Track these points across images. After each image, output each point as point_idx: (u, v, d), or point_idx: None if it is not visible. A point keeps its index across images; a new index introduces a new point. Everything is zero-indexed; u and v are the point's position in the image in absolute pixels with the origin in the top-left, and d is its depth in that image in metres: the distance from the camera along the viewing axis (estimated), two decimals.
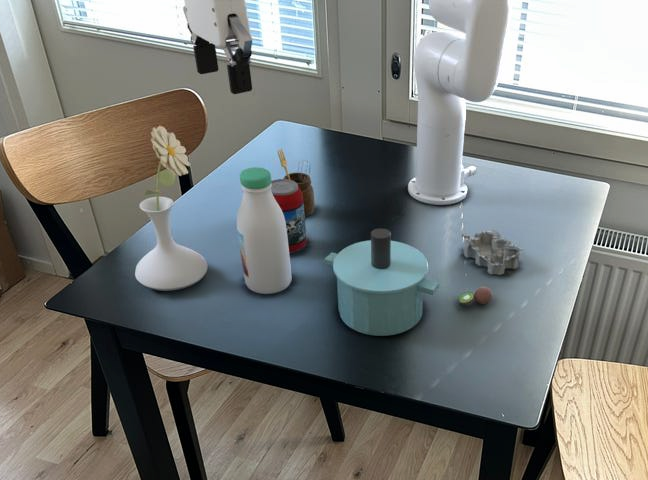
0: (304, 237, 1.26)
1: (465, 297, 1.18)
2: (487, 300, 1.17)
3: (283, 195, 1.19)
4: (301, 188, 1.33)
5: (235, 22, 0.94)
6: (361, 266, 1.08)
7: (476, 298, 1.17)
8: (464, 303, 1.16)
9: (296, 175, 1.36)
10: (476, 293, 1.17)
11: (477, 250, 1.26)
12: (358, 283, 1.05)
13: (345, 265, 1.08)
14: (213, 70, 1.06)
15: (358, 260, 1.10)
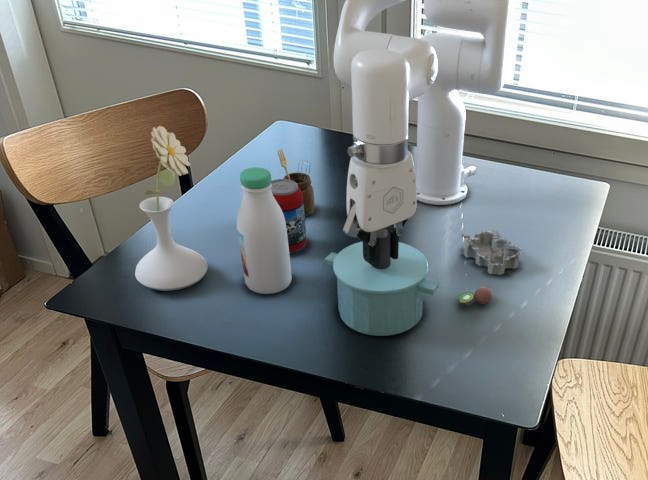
0: (304, 237, 1.26)
1: (465, 297, 1.18)
2: (487, 300, 1.17)
3: (283, 195, 1.19)
4: (301, 188, 1.33)
5: (351, 213, 1.00)
6: (361, 266, 1.08)
7: (476, 298, 1.17)
8: (464, 303, 1.16)
9: (296, 175, 1.36)
10: (476, 293, 1.17)
11: (477, 250, 1.26)
12: (358, 283, 1.05)
13: (345, 265, 1.08)
14: None
15: (358, 260, 1.10)
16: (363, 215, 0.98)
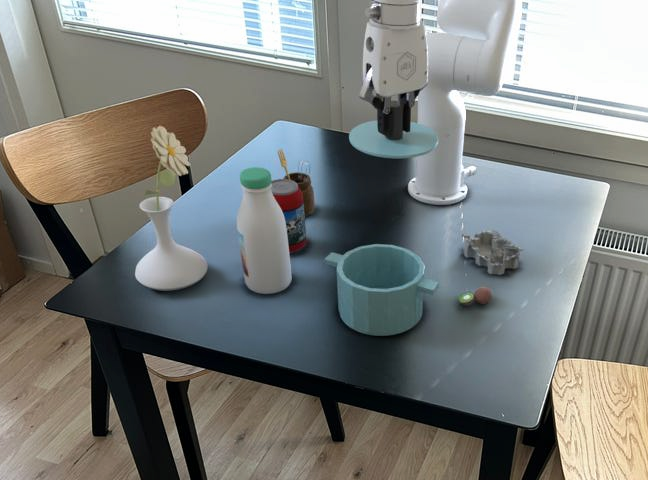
0: (304, 237, 1.26)
1: (465, 297, 1.18)
2: (487, 300, 1.17)
3: (283, 195, 1.19)
4: (301, 188, 1.33)
5: (367, 78, 1.07)
6: (375, 137, 1.15)
7: (476, 298, 1.17)
8: (464, 303, 1.16)
9: (296, 175, 1.36)
10: (476, 293, 1.17)
11: (477, 250, 1.26)
12: (373, 149, 1.12)
13: (360, 137, 1.15)
14: (403, 129, 1.16)
15: (372, 133, 1.17)
16: (379, 78, 1.05)
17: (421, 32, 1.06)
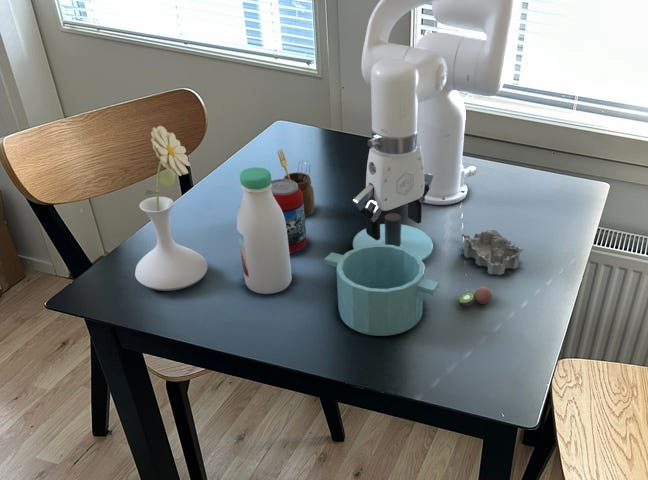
0: (304, 237, 1.26)
1: (465, 297, 1.18)
2: (487, 300, 1.17)
3: (283, 195, 1.19)
4: (301, 188, 1.33)
5: (366, 189, 1.19)
6: None
7: (476, 298, 1.17)
8: (464, 303, 1.16)
9: (296, 175, 1.36)
10: (476, 293, 1.17)
11: (477, 250, 1.26)
12: None
13: (362, 244, 1.28)
14: (414, 221, 1.30)
15: (373, 240, 1.30)
16: (380, 196, 1.18)
17: (418, 154, 1.19)
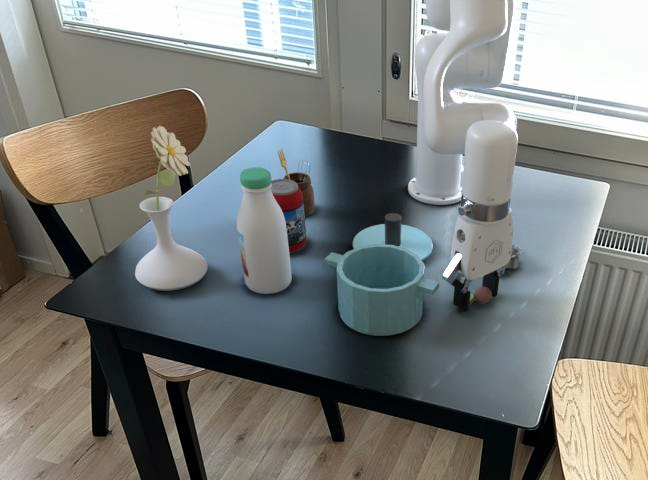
0: (304, 237, 1.26)
1: None
2: (487, 300, 1.17)
3: (283, 195, 1.19)
4: (301, 188, 1.33)
5: (454, 261, 1.09)
6: None
7: (476, 298, 1.17)
8: None
9: (296, 175, 1.36)
10: (476, 293, 1.17)
11: None
12: None
13: (362, 244, 1.28)
14: None
15: (373, 240, 1.30)
16: (468, 266, 1.08)
17: (509, 220, 1.09)
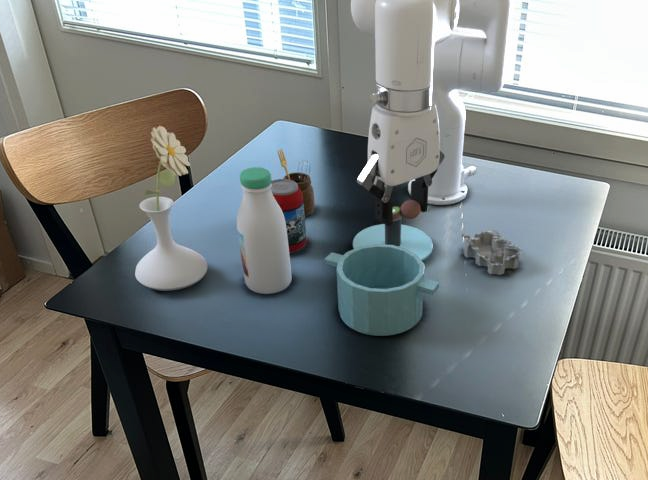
0: (304, 237, 1.26)
1: None
2: (414, 214, 1.04)
3: (283, 195, 1.19)
4: (301, 188, 1.33)
5: (370, 162, 0.95)
6: None
7: (402, 212, 1.04)
8: None
9: (296, 175, 1.36)
10: (402, 206, 1.04)
11: (477, 250, 1.26)
12: None
13: (362, 244, 1.28)
14: None
15: (373, 240, 1.30)
16: (386, 167, 0.95)
17: (432, 115, 0.95)
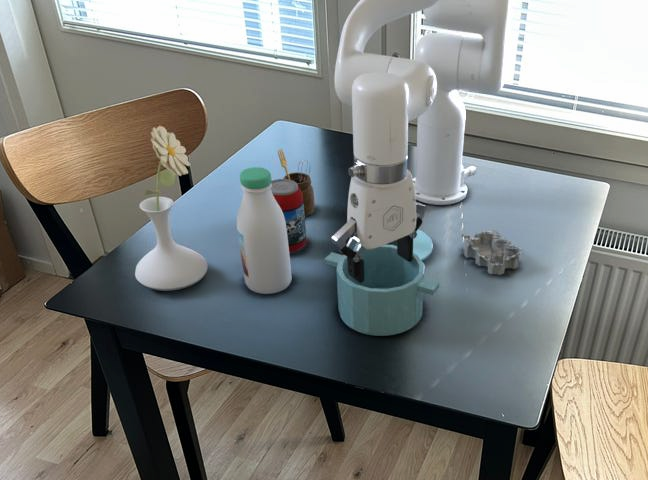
0: (304, 237, 1.26)
1: None
2: None
3: (283, 195, 1.19)
4: (301, 188, 1.33)
5: (347, 224, 1.01)
6: None
7: None
8: None
9: (296, 175, 1.36)
10: None
11: (477, 250, 1.26)
12: None
13: None
14: (405, 258, 1.12)
15: None
16: (364, 233, 1.00)
17: (408, 184, 1.01)
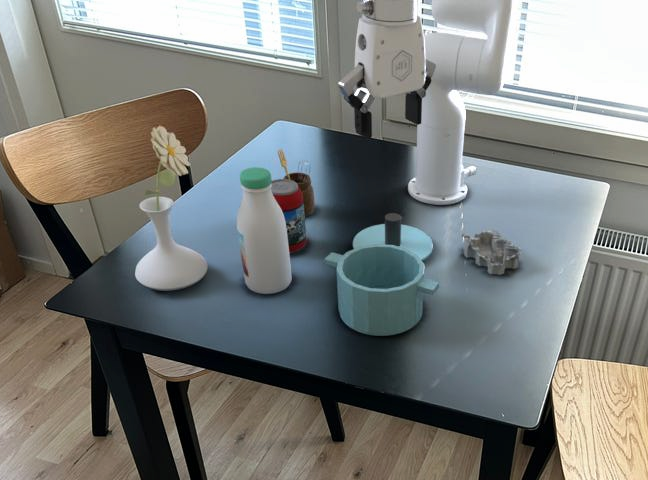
0: (304, 237, 1.26)
1: None
2: None
3: (283, 195, 1.19)
4: (301, 188, 1.33)
5: (355, 70, 0.97)
6: None
7: None
8: None
9: (296, 175, 1.36)
10: None
11: (477, 250, 1.26)
12: None
13: (362, 244, 1.28)
14: (413, 121, 1.09)
15: (373, 240, 1.30)
16: (372, 78, 0.97)
17: (418, 29, 0.98)
